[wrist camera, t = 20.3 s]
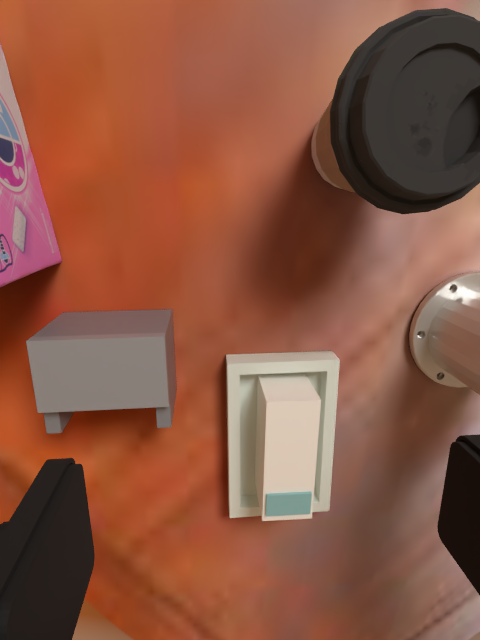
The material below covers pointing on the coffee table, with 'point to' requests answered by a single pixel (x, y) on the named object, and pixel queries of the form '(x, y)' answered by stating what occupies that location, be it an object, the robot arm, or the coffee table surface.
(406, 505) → the coffee table surface
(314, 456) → the teal-tabbed cream block
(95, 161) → the coffee table surface
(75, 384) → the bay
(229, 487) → the tray
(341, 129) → the coffee cup
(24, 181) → the gum box
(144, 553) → the coffee table surface
